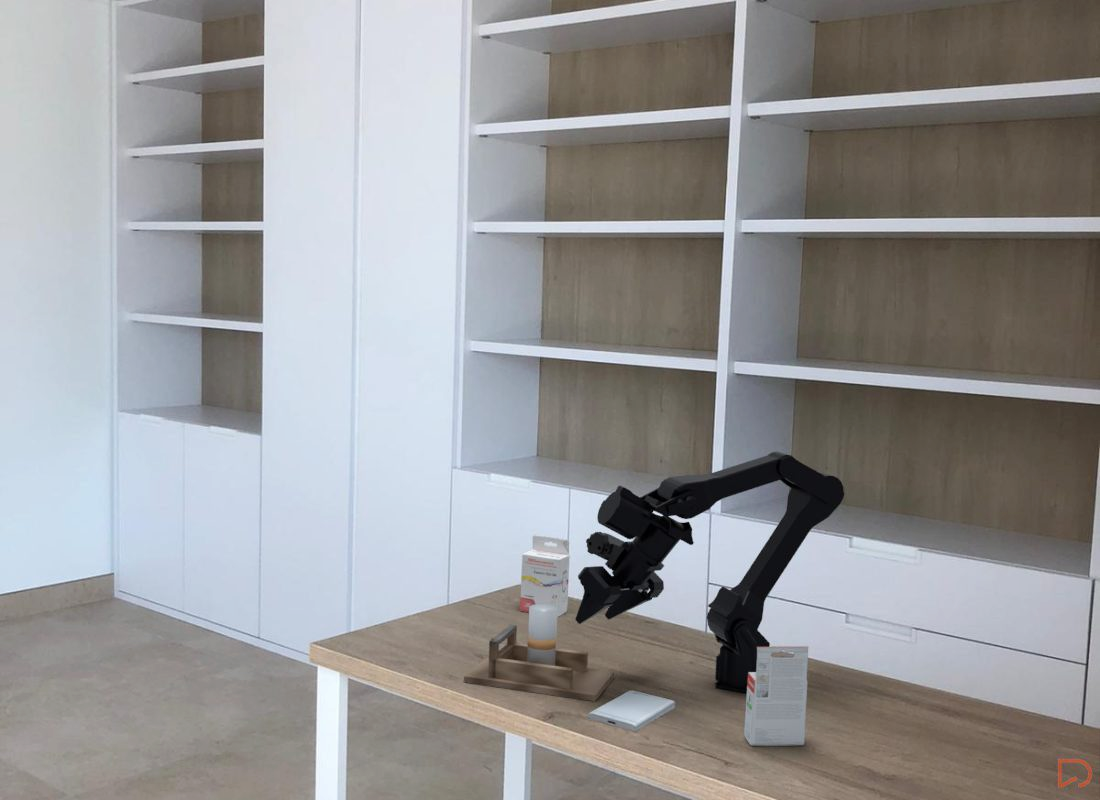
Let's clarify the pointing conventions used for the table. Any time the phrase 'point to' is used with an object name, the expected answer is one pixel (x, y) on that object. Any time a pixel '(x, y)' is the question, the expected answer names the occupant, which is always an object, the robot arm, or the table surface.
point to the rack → (538, 671)
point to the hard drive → (632, 710)
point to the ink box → (777, 698)
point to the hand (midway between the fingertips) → (592, 619)
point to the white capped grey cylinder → (542, 634)
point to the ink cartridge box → (545, 574)
